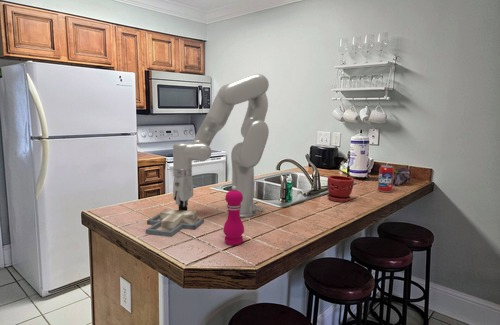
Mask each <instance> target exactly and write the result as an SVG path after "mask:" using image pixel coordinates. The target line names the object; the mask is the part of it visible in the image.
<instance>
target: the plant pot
mask: <svg viewBox="0 0 500 325" xmlns="http://www.w3.org/2000/svg"><path fill="white" fill-rule="evenodd" d="M354 182H355V180H354V178H352V177H349V176H345V175H329V176H328V177H327V183H326V184H327V191H328V193H327V194H326V195H327V196H326V197H327V198H328V199H329V200H330V201H333V202H340V203H343V202H344V203H345V202H348V201H350V200H351V196H350V195H351V194H352V191H353V189H354Z"/></svg>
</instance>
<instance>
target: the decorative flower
mask: <svg viewBox="0 0 500 325" xmlns="http://www.w3.org/2000/svg"><path fill="white" fill-rule="evenodd" d="M411 172H412V171H411V170H410V169H409V168H405V167H400V168H395V169H394V176H393V186H394V187H399V186H400V185H402V186H403V185H405V184H406V183H407V181H411V176H410V175H412V173H411Z"/></svg>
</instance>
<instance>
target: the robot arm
mask: <svg viewBox="0 0 500 325" xmlns="http://www.w3.org/2000/svg"><path fill="white" fill-rule="evenodd" d="M269 85H270V84H269V80H268V78H267V77H266V76H265V75H264V74H261V73H257V74H256V73H255V74H253V75H249V76H248V77H247V76H246V77H245V78H243V79H241V80H240V79H239V80H238V81H234V82H230V83H226V84H225V85H222V86H221V87H220V88H219V90H218V92H216V93H217V94H216V96H214V99H213V101H212V104H211V105H210V108H209V110H208V112H207V114H206V116H205V117H204V119H203V121H202V122H201V125H200V126H199V128H198V130H197V131H196V134H195V136H194V138H193V140H192V142H191V143H189V142H176V143H174V144H173V146H172V164H173V165H172V167H173V173H172V174H173V175H172V177H173V186H172V187H173V188H172V194H173V195H172V198H173V201H175V205H176V206H177V207H178V210H184V211H188V205H189V204H188V203H189V200H190V199H191V198H193V197H194V180H193V175H192V174H193V170H192V169H193V164H192V163H193V161H196V162H197V161H199V162H205V161H207V160H209V159H210V158H211V156H212V148H211V147H210V145H211V143H212V141H213V140H214V138H215V136H216V135H217V133H218V132H220V131H221V130H222V129H223V128H224V127H225V126H226V124H227V122H228V120H229V117H230V115H231V113H232V111H233V109H234V107H235V106H236V105H239V104H242V103H245V102H247V101H248V102H247V103H248V104H247V109H246V111H245V112H246V113H245V115H244V119H243V122H242V125H241V127H240V135H241V136H242V138H243V141H242V142H241V141H240V142H238V143H236V144H234V146H233V147H232V150H231V153H230V157H231V158H230V161H231V172H232V173H231V177H232V178H231V188H232V187H233V186H236V187H237V191H240V192H241V193H242V195H243V200H242V202H241V203H240V204H241V209H240V218H250V217H251V218H252V217H254V216H256V215H257V213H258V212H259V213H262V212H263V211H264V210H263V209H264V208H263V207H262V206H259V205H256V203H255V202H254V192H255V191H254V188H255V186H254V185H255V170H254V167H256V166H257V165H259V163H260V161H261V159H262V156H263V154H264V151H265V148H266V145H267V141H268V139H269V133H270V131H269V130H270V129H269V126H268V124H267V123H266V122H265V120H266V118H267V117H266V116H267V112H268V108H269V101H268V96H267V91H268V90H269V87H270V86H269Z"/></svg>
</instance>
